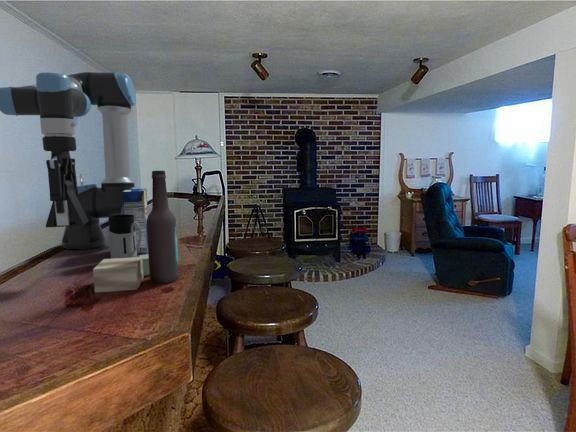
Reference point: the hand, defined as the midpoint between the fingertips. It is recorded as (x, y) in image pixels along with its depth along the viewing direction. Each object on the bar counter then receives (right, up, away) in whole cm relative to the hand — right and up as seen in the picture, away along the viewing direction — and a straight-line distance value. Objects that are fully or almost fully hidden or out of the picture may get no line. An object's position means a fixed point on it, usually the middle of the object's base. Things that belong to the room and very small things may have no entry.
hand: (67, 222), depth 105 cm
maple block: (+15, -16, -2) cm, 23 cm away
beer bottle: (+26, -16, +2) cm, 30 cm away
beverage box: (+6, -11, +35) cm, 37 cm away
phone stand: (0, -1, 0) cm, 1 cm away
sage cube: (+19, -15, +9) cm, 26 cm away
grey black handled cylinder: (+9, -13, +19) cm, 25 cm away
